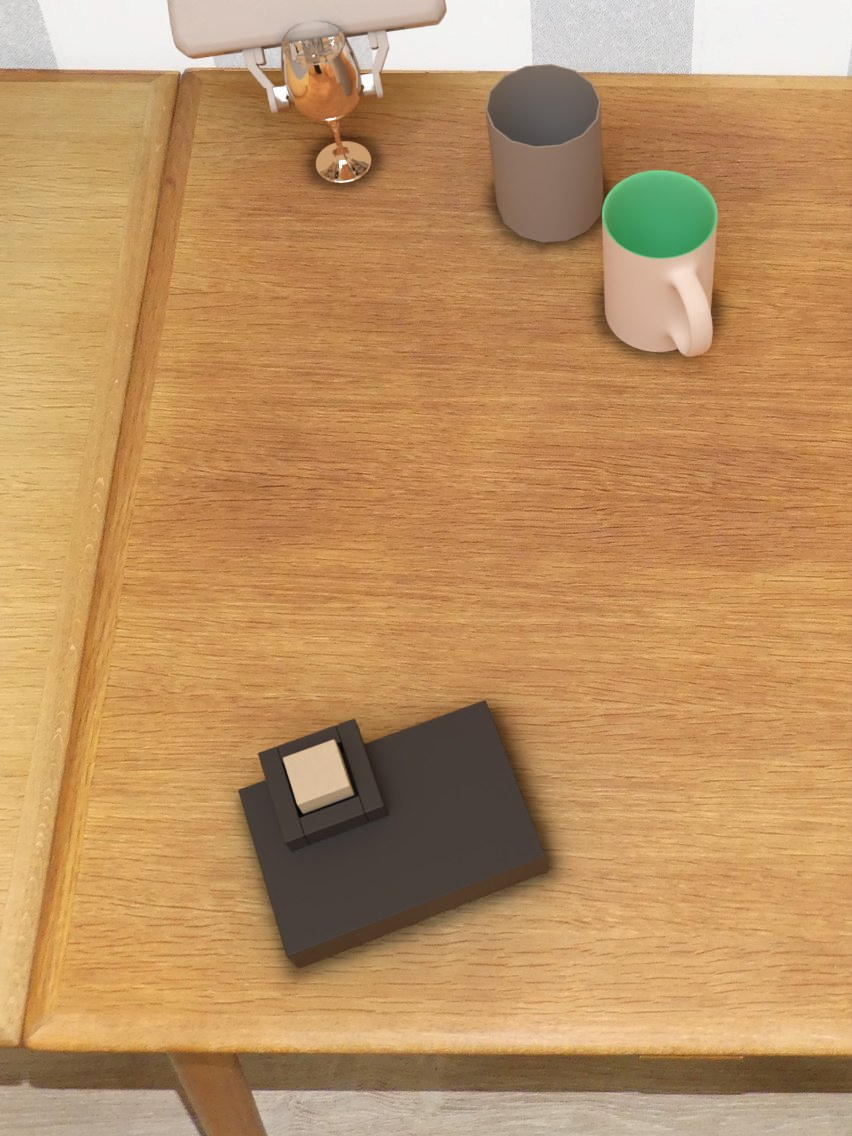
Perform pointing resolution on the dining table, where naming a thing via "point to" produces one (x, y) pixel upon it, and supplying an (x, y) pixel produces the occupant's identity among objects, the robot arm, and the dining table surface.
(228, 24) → the robot arm
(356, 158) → the wineglass
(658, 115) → the dining table surface
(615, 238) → the mug
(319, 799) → the square button
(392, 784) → the button panel
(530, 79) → the cup
